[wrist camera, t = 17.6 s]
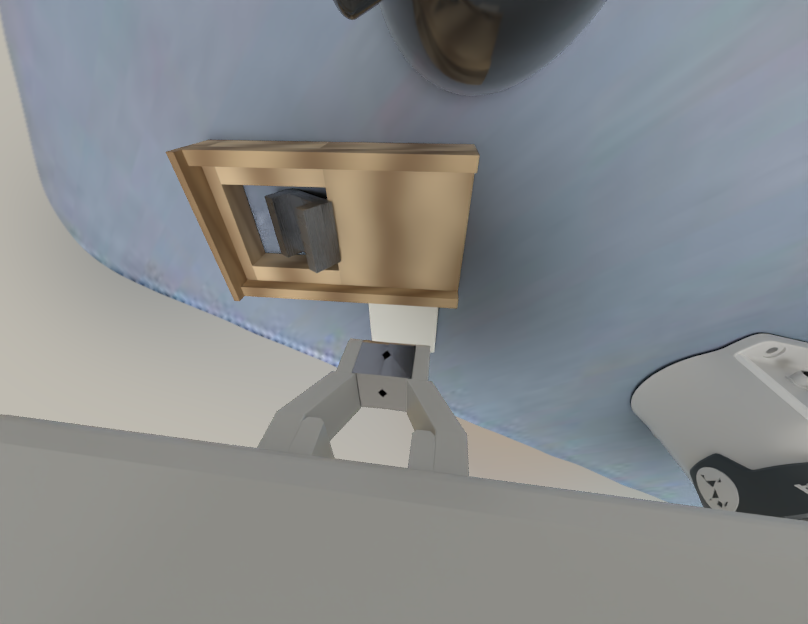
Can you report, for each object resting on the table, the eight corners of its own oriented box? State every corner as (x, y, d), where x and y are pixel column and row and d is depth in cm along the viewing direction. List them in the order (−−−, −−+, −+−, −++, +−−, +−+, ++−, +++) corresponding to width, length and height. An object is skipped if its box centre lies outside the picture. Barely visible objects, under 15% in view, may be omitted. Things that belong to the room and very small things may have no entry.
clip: (331, 201, 21) (303, 210, 20) (340, 261, 25) (316, 273, 23) (292, 188, 24) (264, 195, 22) (305, 244, 27) (281, 254, 26)
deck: (474, 144, 21) (480, 158, 17) (455, 284, 28) (457, 314, 25) (208, 139, 22) (165, 151, 19) (258, 274, 30) (234, 300, 26)
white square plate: (438, 296, 29) (438, 303, 28) (434, 345, 34) (434, 352, 33) (370, 292, 30) (368, 299, 29) (374, 341, 34) (372, 348, 33)
